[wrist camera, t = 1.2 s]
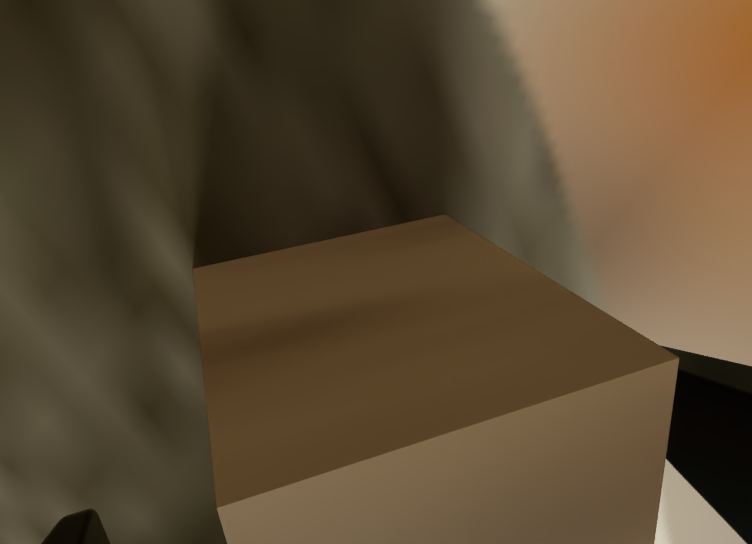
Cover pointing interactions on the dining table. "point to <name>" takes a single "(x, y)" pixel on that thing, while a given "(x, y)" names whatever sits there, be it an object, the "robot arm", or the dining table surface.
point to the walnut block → (425, 397)
